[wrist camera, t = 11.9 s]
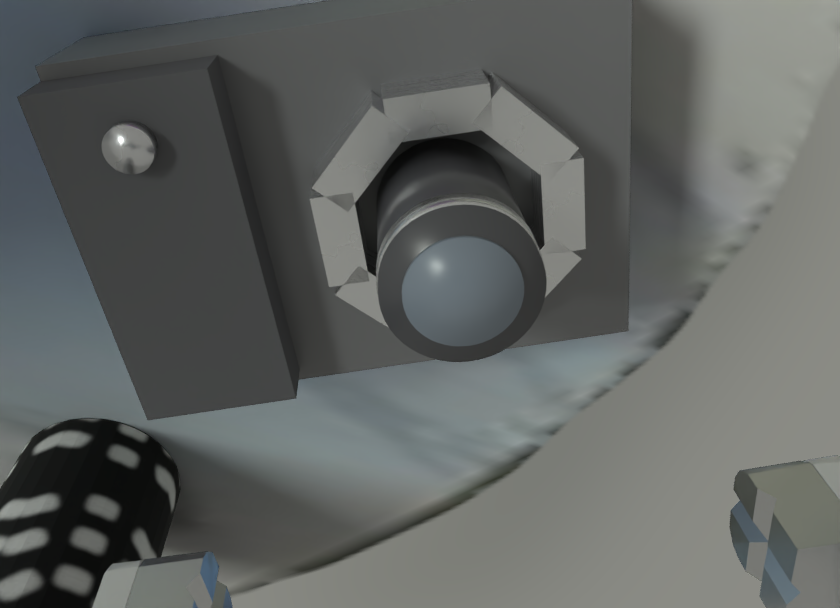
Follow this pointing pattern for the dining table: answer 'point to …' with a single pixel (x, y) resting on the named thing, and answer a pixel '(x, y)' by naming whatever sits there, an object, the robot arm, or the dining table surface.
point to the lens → (454, 254)
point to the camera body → (324, 175)
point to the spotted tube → (81, 511)
